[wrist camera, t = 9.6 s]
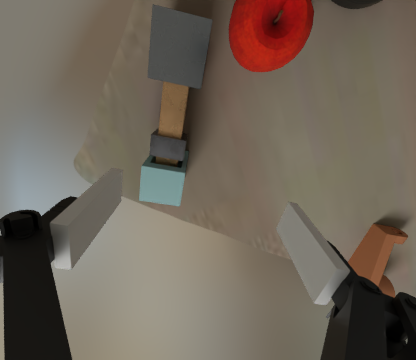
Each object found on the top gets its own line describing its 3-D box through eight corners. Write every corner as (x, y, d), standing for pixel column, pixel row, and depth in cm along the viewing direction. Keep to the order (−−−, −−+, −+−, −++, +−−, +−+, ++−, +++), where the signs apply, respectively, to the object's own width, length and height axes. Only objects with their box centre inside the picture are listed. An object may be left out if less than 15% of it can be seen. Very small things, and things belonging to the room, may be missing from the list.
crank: (359, 285, 56) (382, 314, 49) (333, 282, 55) (353, 311, 48) (401, 228, 48) (437, 252, 41) (372, 223, 48) (403, 247, 40)
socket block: (157, 145, 38) (141, 165, 28) (188, 151, 38) (185, 173, 28) (154, 172, 40) (139, 200, 30) (184, 177, 41) (179, 206, 31)
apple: (299, 22, 31) (355, -16, 20) (265, 86, 34) (296, 85, 23) (242, -16, 29) (269, -81, 18) (212, 57, 32) (219, 41, 21)
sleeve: (167, 30, 31) (152, 4, 21) (208, 40, 31) (212, 19, 22) (162, 80, 33) (147, 77, 24) (200, 89, 34) (200, 89, 25)
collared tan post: (164, 64, 29) (157, 59, 24) (197, 72, 29) (197, 69, 25) (153, 168, 35) (147, 180, 30) (181, 173, 35) (179, 185, 31)
